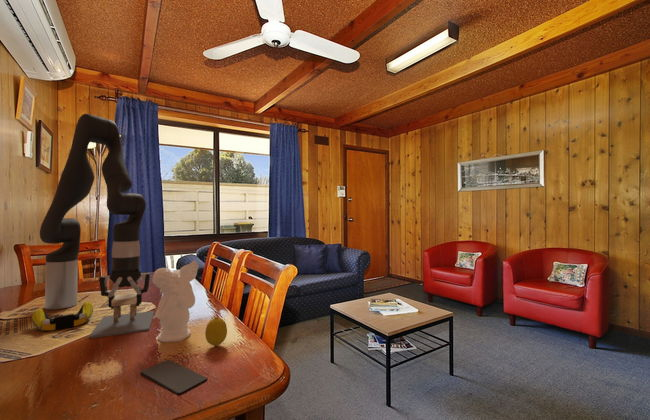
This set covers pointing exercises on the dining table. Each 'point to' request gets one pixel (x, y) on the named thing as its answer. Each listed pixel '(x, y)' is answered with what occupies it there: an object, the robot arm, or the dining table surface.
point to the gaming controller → (62, 319)
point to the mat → (123, 324)
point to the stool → (124, 300)
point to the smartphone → (173, 377)
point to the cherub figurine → (175, 301)
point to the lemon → (216, 331)
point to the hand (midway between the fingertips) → (125, 306)
